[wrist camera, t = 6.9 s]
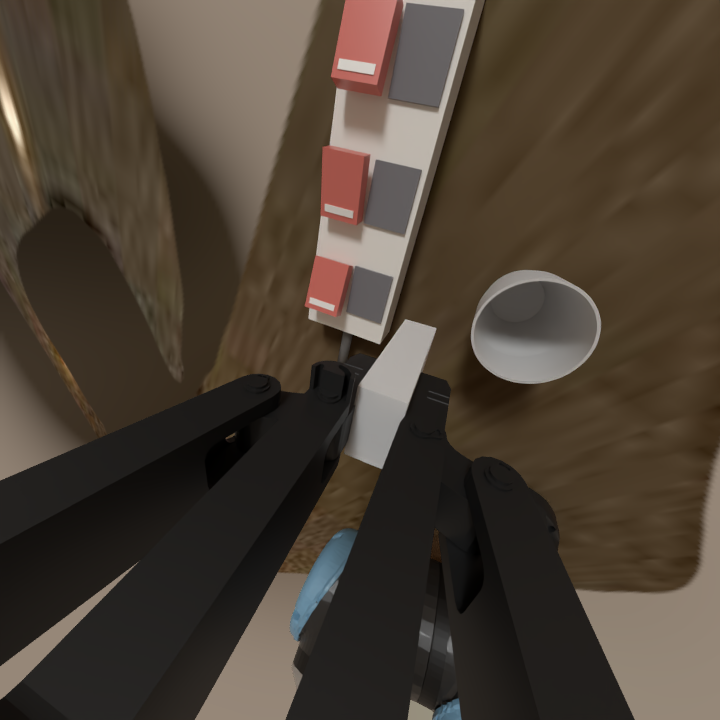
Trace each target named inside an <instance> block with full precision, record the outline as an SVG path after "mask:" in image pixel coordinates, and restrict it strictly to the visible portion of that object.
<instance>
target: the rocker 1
mask: <svg viewBox="0 0 720 720" xmlns="http://www.w3.org/2000/svg"><path fill="white" fill-rule="evenodd" d="M403 6H404V5H403V0H346V1H345V7H344V12H343V17H342V22H341V27H340V33H339V38H338V43H337V48H336V53H335V58H334V64H333V69H332V74H331V78H332V80H333V81H334V83H335V85H336V86H337V88H338V89H343V90H348V91H354V92H359V93H365V94H370V95H376V96H382V92H383V88H384V84H385V80H386V76H387V71H388V67H389V63H390V59H391V55H392V51H393V47H394V43H395V39H396V35H397V31H398V26H399V22H400V18H401V14H402V10H403Z"/></svg>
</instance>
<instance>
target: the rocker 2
mask: <svg viewBox="0 0 720 720" xmlns="http://www.w3.org/2000/svg"><path fill="white" fill-rule="evenodd" d="M370 155H371V154H367V153H362V152H358V151H353V150H349V149H345V148H340V147H336V146H331V145H330V146H325V147H323V159H322V191H321V216H324V217H328V218H332V219H335V220H339V221H342V222H346V223H349V224H353V225H358V224H359V223H361V222H362V219H363V211H364V203H365V195H366V187H367V179H368V171H369V163H370Z"/></svg>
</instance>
